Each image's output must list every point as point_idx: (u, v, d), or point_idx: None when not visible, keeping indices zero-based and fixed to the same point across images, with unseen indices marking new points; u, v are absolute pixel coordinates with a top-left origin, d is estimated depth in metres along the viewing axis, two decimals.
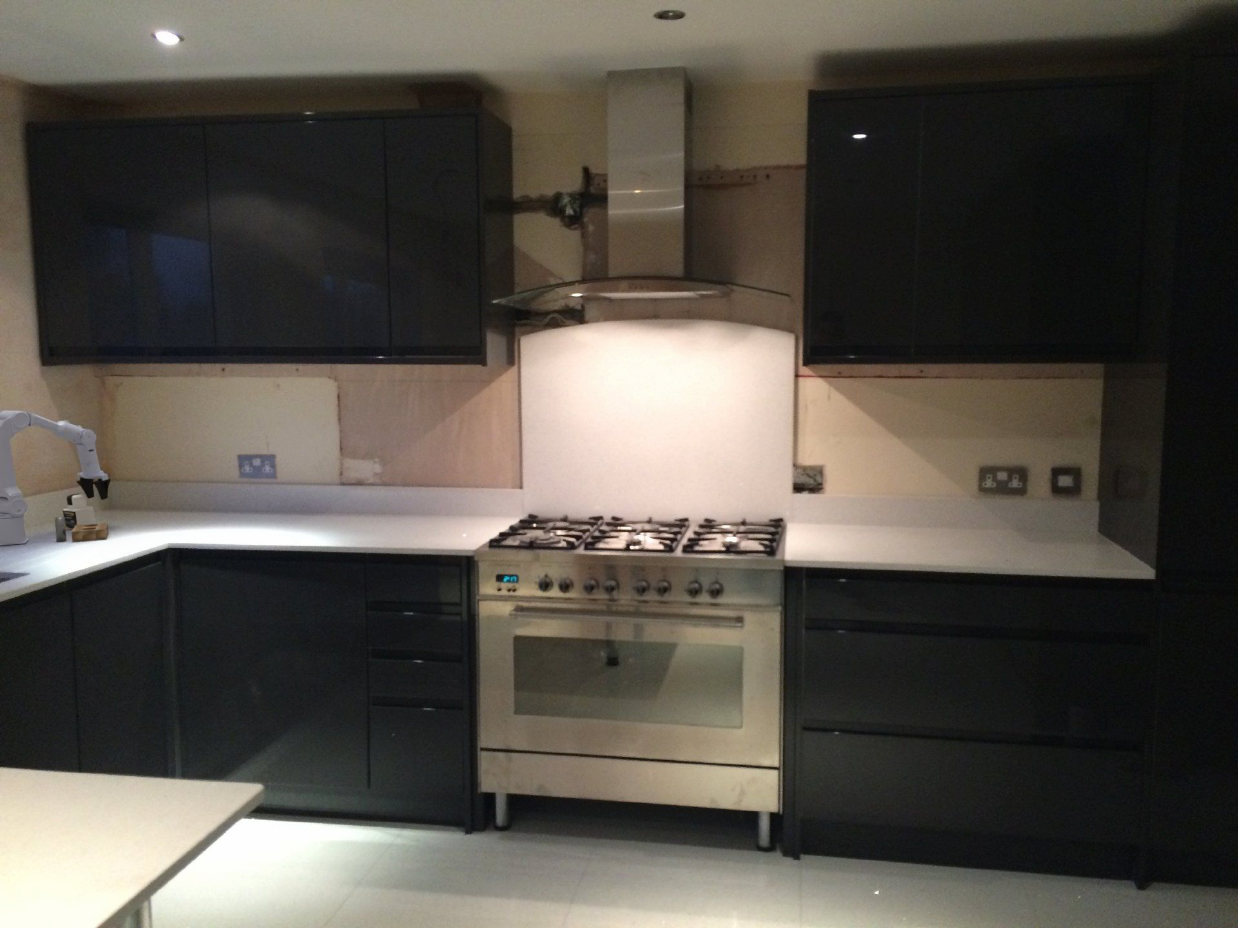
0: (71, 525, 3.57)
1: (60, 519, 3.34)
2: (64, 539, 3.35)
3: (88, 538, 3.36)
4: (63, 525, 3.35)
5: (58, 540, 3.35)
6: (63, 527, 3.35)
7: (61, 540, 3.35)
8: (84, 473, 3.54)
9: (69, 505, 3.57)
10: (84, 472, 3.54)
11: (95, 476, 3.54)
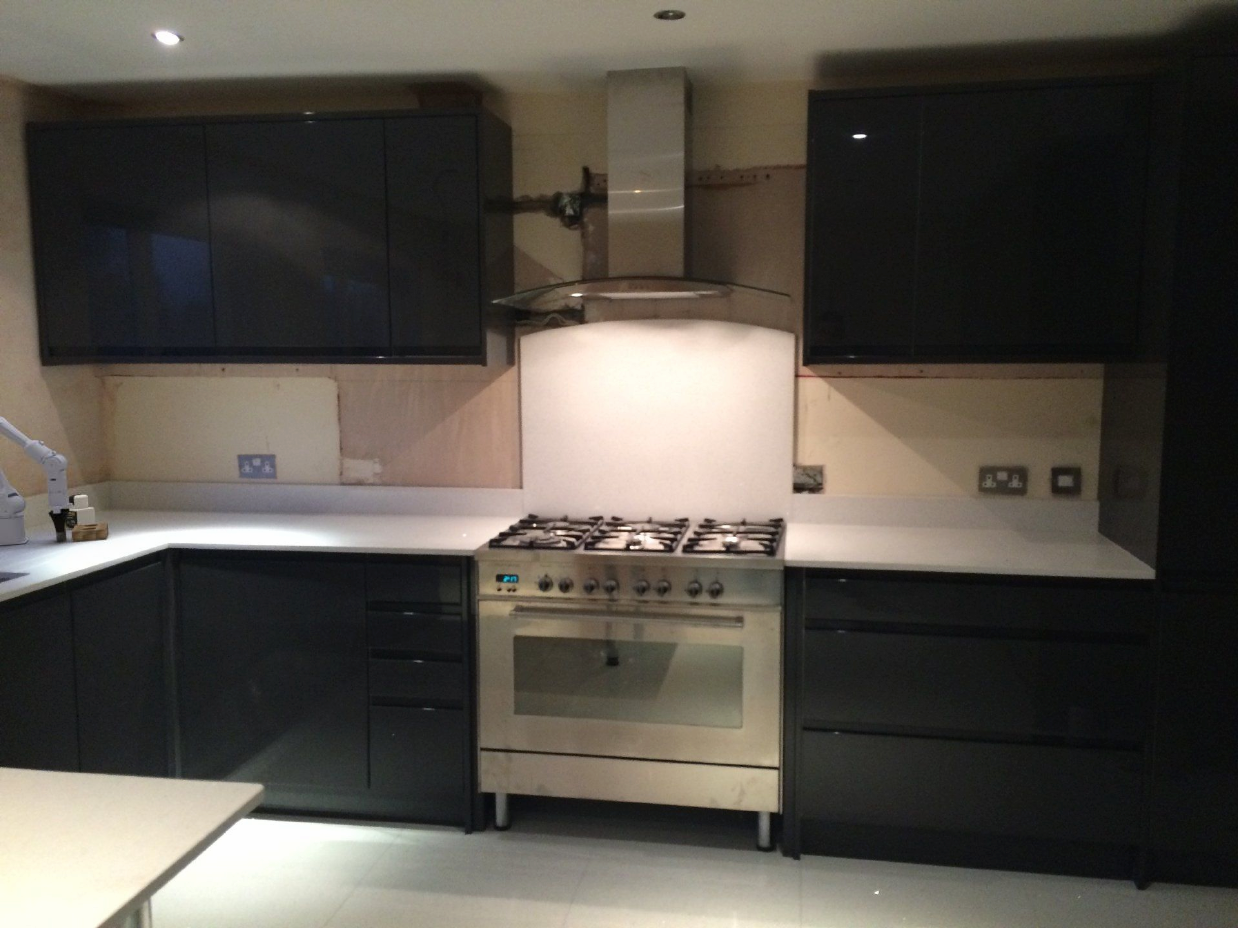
0: (71, 525, 3.58)
1: None
2: (64, 539, 3.35)
3: (88, 538, 3.36)
4: None
5: (58, 540, 3.35)
6: None
7: (61, 540, 3.35)
8: None
9: None
10: None
11: (51, 507, 3.30)
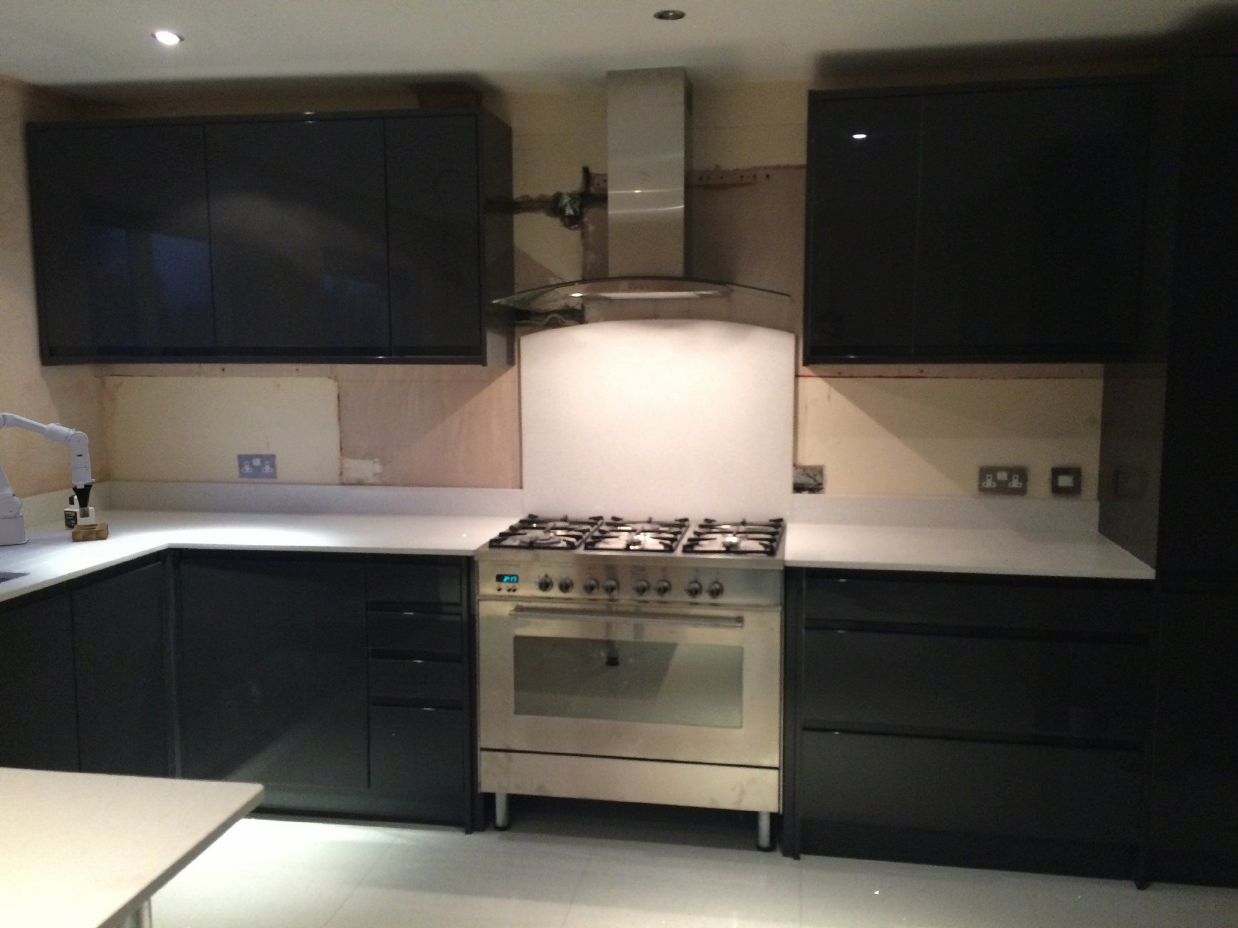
0: (71, 525, 3.58)
1: None
2: (88, 515, 3.42)
3: (88, 538, 3.36)
4: None
5: (82, 516, 3.41)
6: None
7: (85, 516, 3.42)
8: (72, 478, 3.40)
9: (71, 505, 3.57)
10: (72, 477, 3.40)
11: (75, 482, 3.37)
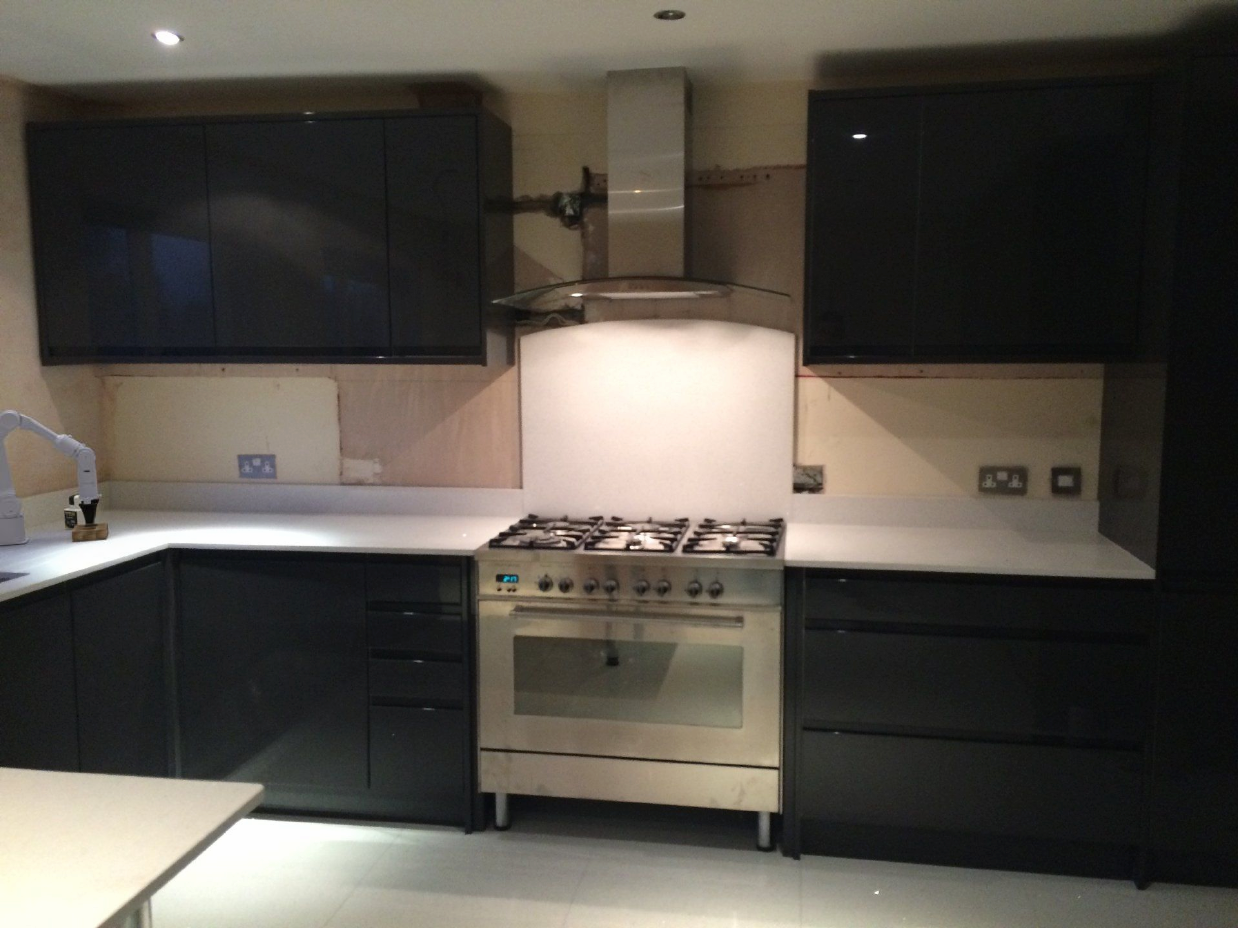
0: (71, 525, 3.58)
1: None
2: None
3: (88, 538, 3.36)
4: None
5: None
6: None
7: None
8: (79, 493, 3.42)
9: (71, 505, 3.57)
10: (79, 492, 3.42)
11: (82, 498, 3.39)
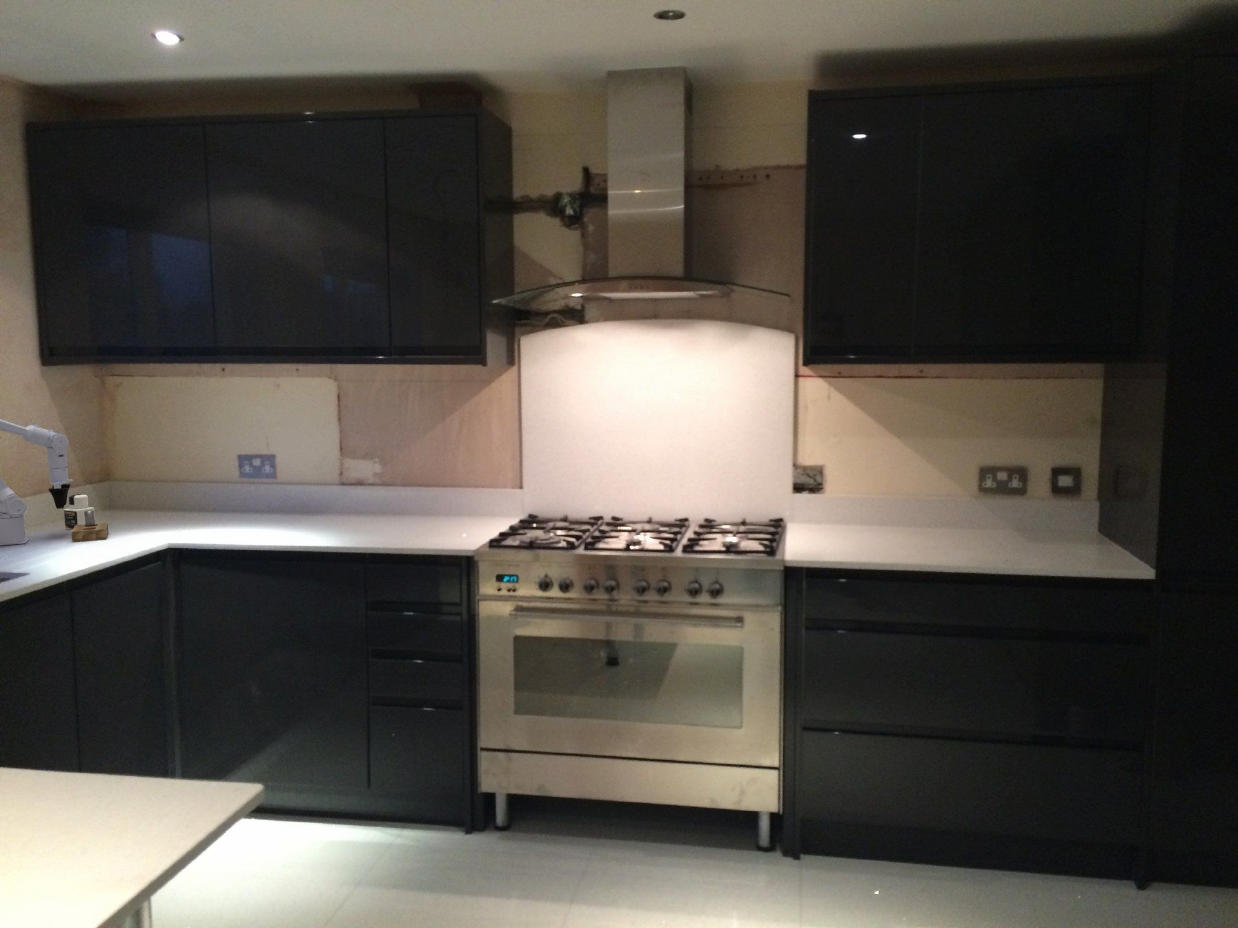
0: (71, 525, 3.58)
1: (90, 513, 3.43)
2: None
3: (88, 538, 3.36)
4: (93, 518, 3.44)
5: None
6: (93, 520, 3.44)
7: None
8: None
9: (71, 505, 3.57)
10: (49, 477, 3.43)
11: (52, 483, 3.40)
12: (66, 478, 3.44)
